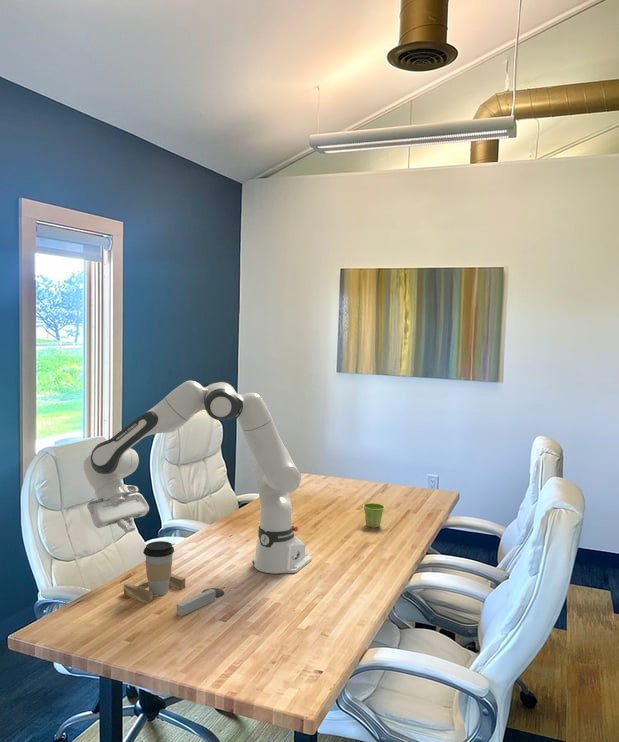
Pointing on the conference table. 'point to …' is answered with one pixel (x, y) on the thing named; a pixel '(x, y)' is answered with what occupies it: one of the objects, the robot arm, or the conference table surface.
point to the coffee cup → (158, 566)
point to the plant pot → (373, 514)
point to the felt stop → (196, 602)
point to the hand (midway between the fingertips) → (130, 531)
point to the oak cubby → (146, 595)
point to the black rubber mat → (218, 592)
